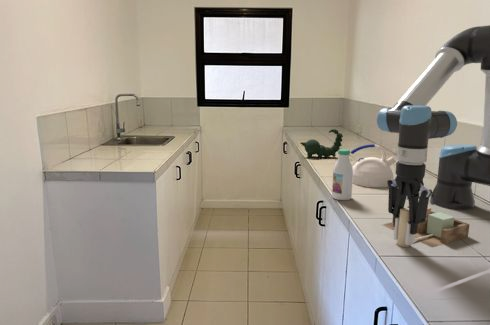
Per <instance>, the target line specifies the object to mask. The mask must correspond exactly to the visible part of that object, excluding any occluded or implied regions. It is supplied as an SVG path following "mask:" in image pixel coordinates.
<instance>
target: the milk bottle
mask: <svg viewBox="0 0 490 325" xmlns="http://www.w3.org/2000/svg"><path fill="white" fill-rule="evenodd" d="M350 152H351V150H350V149H345V148H340V150H338V151H337V155H338V157H337V160H336V162H335V164H334V168H333V172H332V187H331V188H332V190H331V197H332V198H333V199H335V200H338V201H349V200H351V199H352V196H353V195H352V193H353V192H352V191H353V183H352V179H353V169H352V167H353V165H352V163H351V160H350V156H351V153H350Z"/></svg>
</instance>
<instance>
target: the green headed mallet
mask: <svg viewBox="0 0 490 325" xmlns="http://www.w3.org/2000/svg"><path fill="white" fill-rule="evenodd" d="M454 219H455V217H454V216H452V215H449V214H446V213H443V212H441V211H439V212H435V213H433V214H429V215H428V224H427V233H428V234H431V235H427V236H423V237H420V238H416V239H414V242H417V240H420V239H424V238H428V237H431V236H436V237H438V238H440V239H441V231H442V229H445V228H449V227H453V224H454ZM408 222H410V217H409V208H408V207H404V208H401V209H400V217H399V228H398V239H397V241H396V245H397V246H398V247H401V248H402V247H403V248H409V247H410V245H411V244H410V245H406V244H405V239H406V229H407V223H408Z"/></svg>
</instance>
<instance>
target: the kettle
mask: <svg viewBox="0 0 490 325" xmlns="http://www.w3.org/2000/svg"><path fill="white" fill-rule="evenodd" d="M368 148H377V149H379V150H380V152H381V158H378V157H374V156H371V157H370V156H369V157H368V156H367V157H365V158H364V157H360V158H358V160H357V162H356V163H355V164H354V165H352V169H353V179H352V185H356V186H360V187H365V188H377V189H378V188H389V187H388V183H387V181H388V180H393V179H394V172H393V169H392V168H391V167H392V165H393V164H396V163H397V159H395V157H394V156H390V157H389V158H387V153H386V150H385V149H384V147H382V146H381V145H379V144H365V145H364V144H363V145H361V146H358V147H356V148H354V149H352V150H350V154H352V155H354V154H355V153H357V152H358V151H360V150H364V149H368Z"/></svg>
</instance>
